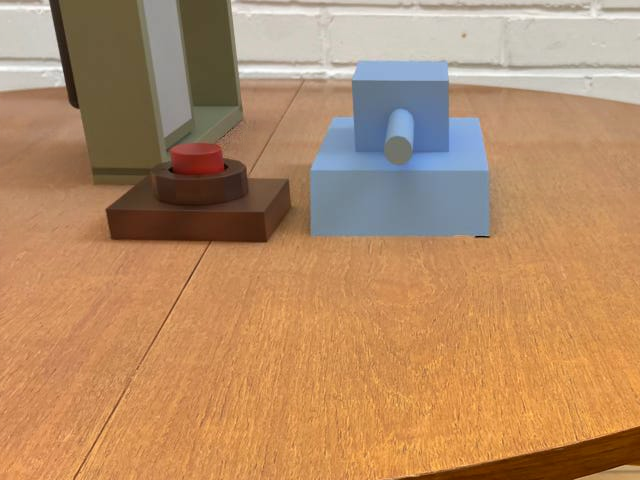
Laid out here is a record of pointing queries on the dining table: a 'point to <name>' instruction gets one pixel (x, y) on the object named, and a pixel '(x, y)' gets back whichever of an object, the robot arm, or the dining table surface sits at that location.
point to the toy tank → (400, 159)
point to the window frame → (151, 79)
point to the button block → (200, 206)
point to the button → (197, 159)
